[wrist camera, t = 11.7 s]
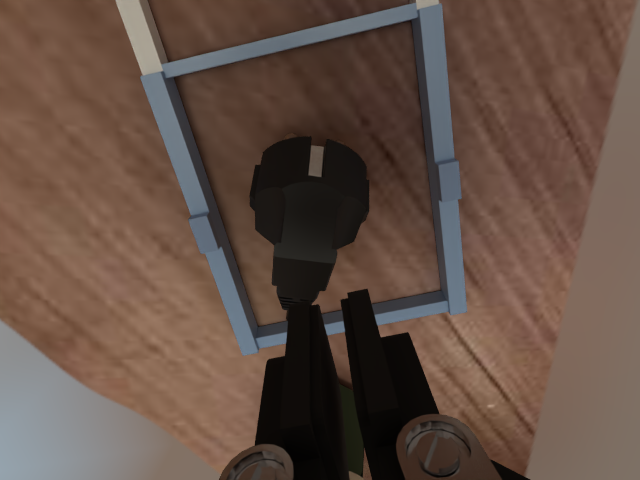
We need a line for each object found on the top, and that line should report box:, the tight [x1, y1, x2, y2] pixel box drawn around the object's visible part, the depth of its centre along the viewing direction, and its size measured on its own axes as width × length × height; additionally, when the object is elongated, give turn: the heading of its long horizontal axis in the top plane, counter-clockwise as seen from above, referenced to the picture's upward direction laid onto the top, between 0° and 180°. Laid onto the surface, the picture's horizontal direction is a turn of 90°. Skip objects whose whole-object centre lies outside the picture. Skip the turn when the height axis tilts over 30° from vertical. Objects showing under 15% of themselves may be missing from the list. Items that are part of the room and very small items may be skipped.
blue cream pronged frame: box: [115, 0, 467, 356], centre depth 19 cm, size 31×14×2 cm, turn 12°
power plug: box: [250, 133, 369, 321], centre depth 22 cm, size 6×8×12 cm
